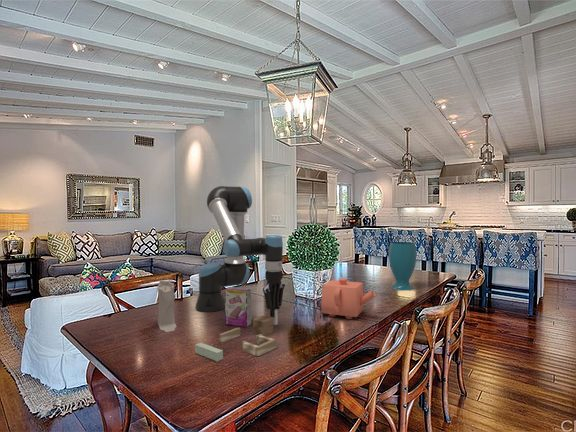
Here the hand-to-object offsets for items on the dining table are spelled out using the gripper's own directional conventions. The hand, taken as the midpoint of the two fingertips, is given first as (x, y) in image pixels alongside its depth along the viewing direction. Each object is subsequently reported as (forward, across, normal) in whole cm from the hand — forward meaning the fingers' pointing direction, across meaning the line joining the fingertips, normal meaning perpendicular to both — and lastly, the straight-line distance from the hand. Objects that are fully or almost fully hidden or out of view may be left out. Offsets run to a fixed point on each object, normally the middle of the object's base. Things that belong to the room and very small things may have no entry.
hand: (274, 323), depth 152 cm
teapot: (+2, +37, -18) cm, 41 cm away
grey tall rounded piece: (+2, -27, +39) cm, 48 cm away
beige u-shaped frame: (+2, -21, -4) cm, 21 cm away
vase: (+2, +112, -19) cm, 113 cm away
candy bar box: (+2, -6, +16) cm, 17 cm away
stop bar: (+2, -36, 0) cm, 36 cm away
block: (+2, -7, 0) cm, 7 cm away
